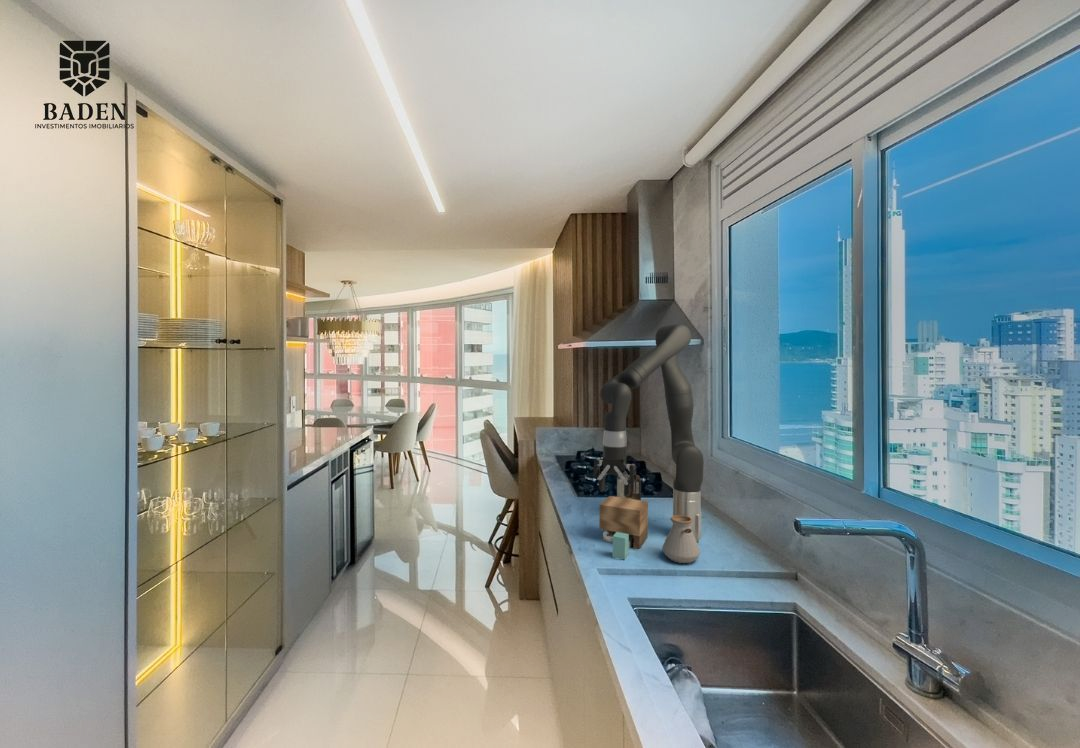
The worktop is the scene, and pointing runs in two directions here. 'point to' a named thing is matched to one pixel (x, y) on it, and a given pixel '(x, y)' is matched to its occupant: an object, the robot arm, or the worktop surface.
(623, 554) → the sage green eraser
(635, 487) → the coffee box
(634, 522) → the cabinet
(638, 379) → the robot arm
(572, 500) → the worktop surface
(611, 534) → the steel token
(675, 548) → the coffee pot
